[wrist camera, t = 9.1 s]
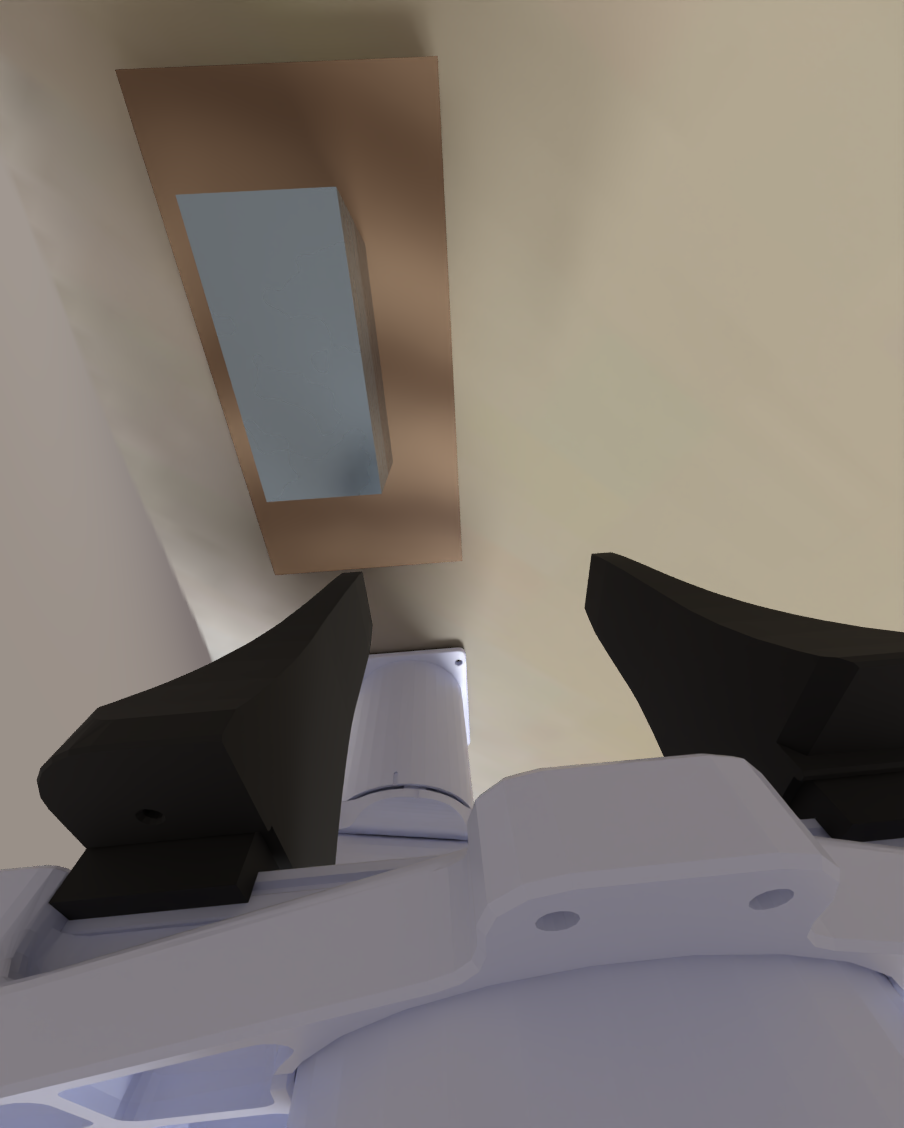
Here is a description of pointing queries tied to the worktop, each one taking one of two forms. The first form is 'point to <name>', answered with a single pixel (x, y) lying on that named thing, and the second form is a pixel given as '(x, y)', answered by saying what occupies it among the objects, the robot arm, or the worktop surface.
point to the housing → (296, 336)
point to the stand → (394, 255)
